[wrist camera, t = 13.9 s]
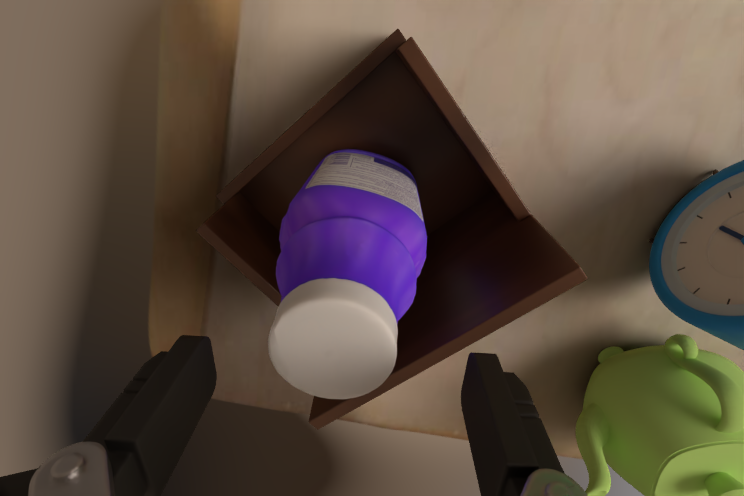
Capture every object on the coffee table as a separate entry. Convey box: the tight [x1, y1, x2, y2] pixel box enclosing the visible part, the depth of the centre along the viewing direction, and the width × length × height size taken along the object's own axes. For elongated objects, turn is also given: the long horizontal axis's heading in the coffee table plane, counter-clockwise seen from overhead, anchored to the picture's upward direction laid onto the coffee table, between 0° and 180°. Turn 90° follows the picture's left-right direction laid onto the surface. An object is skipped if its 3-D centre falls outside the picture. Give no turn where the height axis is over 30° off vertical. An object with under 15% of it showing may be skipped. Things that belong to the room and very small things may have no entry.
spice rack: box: [196, 29, 588, 429], centre depth 24 cm, size 13×16×16 cm
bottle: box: [268, 149, 427, 399], centre depth 19 cm, size 7×6×17 cm
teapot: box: [576, 334, 744, 496], centre depth 34 cm, size 16×14×13 cm
